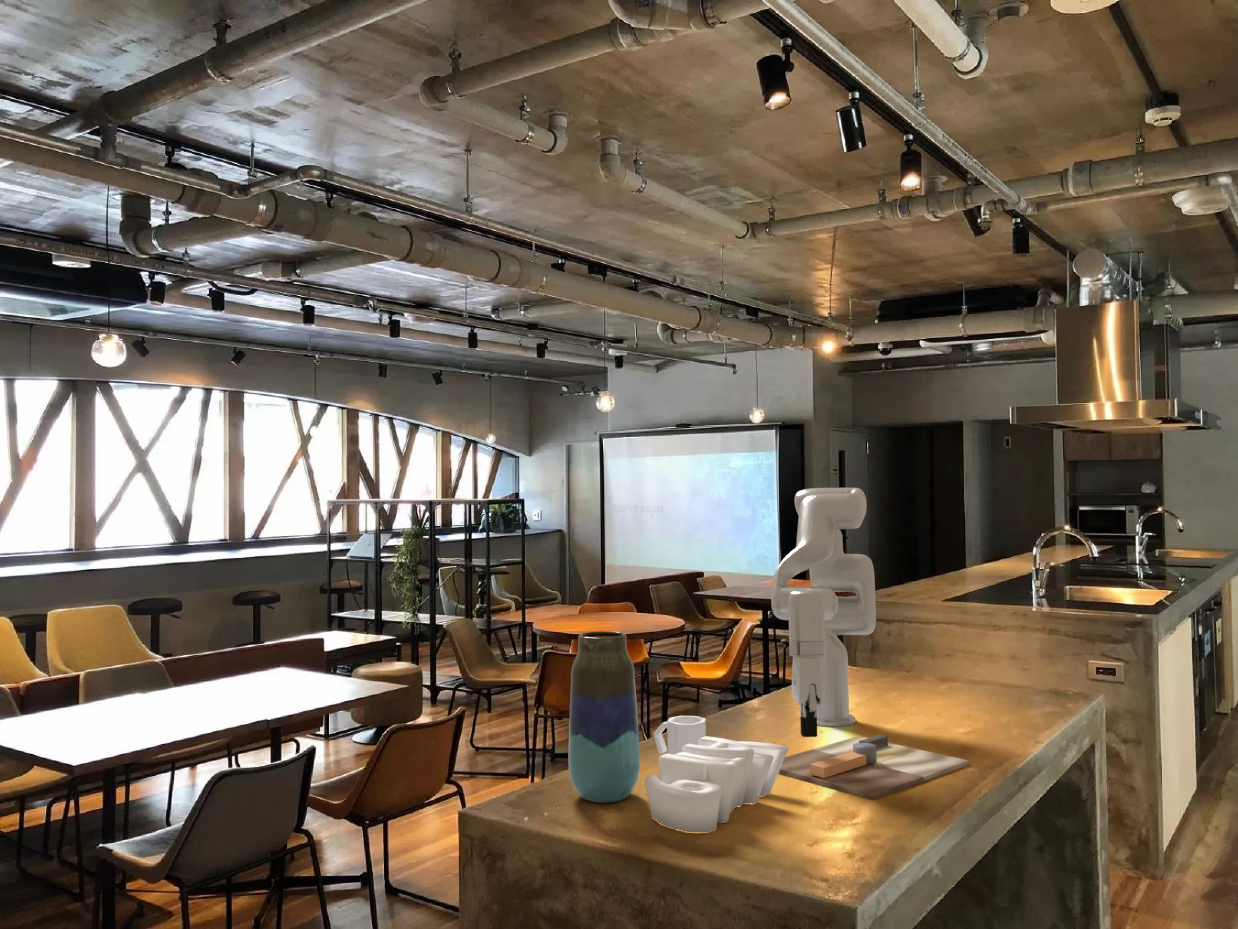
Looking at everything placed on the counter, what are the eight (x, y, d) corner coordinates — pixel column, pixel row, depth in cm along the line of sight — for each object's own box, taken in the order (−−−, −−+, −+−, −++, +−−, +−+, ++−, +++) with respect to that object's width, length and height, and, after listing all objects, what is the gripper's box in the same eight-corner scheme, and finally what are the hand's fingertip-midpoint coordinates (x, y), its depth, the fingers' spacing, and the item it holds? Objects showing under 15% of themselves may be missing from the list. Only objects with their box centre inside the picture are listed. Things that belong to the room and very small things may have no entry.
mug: (713, 764, 204) (712, 718, 205) (695, 774, 197) (694, 726, 197) (664, 756, 211) (663, 712, 211) (645, 766, 203) (644, 720, 204)
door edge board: (761, 769, 200) (760, 754, 200) (858, 740, 222) (858, 727, 222) (873, 800, 179) (872, 784, 179) (969, 765, 200) (968, 751, 200)
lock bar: (862, 756, 204) (861, 741, 204) (881, 761, 200) (881, 745, 200) (807, 773, 192) (807, 757, 192) (826, 778, 188) (826, 762, 188)
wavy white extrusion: (725, 778, 194) (724, 726, 195) (798, 792, 184) (797, 737, 185) (623, 827, 166) (622, 766, 167) (703, 847, 157) (702, 782, 157)
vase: (615, 813, 174) (613, 641, 175) (554, 801, 181) (552, 636, 182) (653, 792, 185) (651, 632, 186) (594, 782, 193) (592, 627, 194)
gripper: (783, 643, 208) (785, 728, 207) (796, 653, 193) (797, 744, 192) (817, 643, 208) (819, 728, 207) (832, 653, 193) (834, 744, 192)
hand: (808, 736), depth 200 cm, fingers closed
